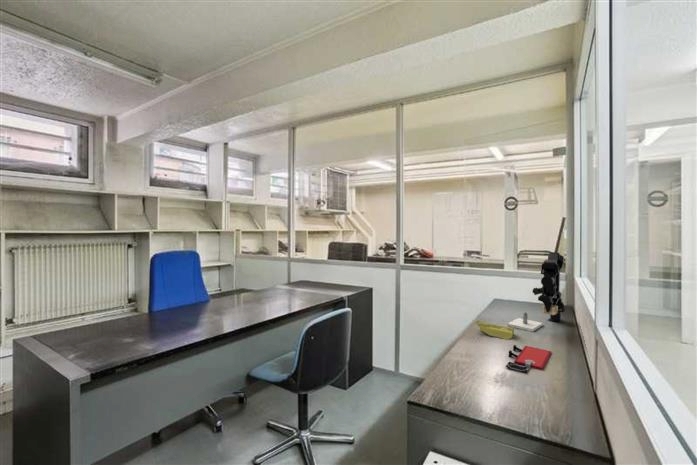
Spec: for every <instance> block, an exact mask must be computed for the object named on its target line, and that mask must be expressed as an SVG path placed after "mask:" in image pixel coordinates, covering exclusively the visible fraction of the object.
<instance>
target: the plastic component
mask: <svg viewBox="0 0 697 465" xmlns="http://www.w3.org/2000/svg"><path fill="white" fill-rule="evenodd" d="M475 322H476V324H477V326H478V327H479V331H480V332H481V333H485V334H486V335H489V336H490V337H493V338H494V337H495V338H498V339H499V338H500V339H504V340H510V339H512V338H513V336H514V334H515V328H514V327H511V328H510V327H508V326H501V325H498V324H497V325H496V324H491V323H486V322H482V321H478V320H477V319H475Z"/></svg>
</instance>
